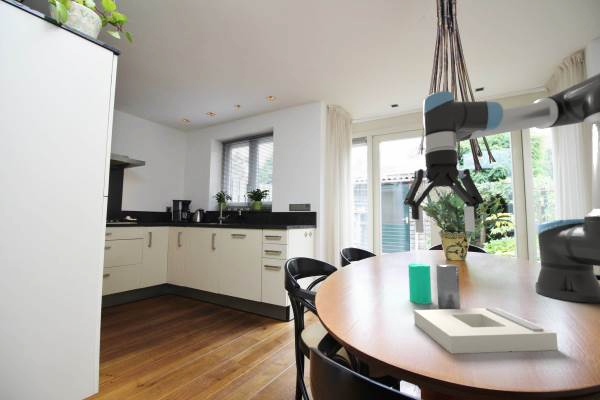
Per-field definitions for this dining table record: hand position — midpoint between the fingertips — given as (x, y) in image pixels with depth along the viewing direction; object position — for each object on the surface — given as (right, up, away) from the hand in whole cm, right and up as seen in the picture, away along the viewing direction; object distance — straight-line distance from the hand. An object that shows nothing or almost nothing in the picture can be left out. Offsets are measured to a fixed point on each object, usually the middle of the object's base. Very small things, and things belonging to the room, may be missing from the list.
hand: (445, 232), depth 70 cm
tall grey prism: (0, -21, -1) cm, 21 cm away
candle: (-2, -22, +9) cm, 24 cm away
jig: (-1, -20, -14) cm, 24 cm away
